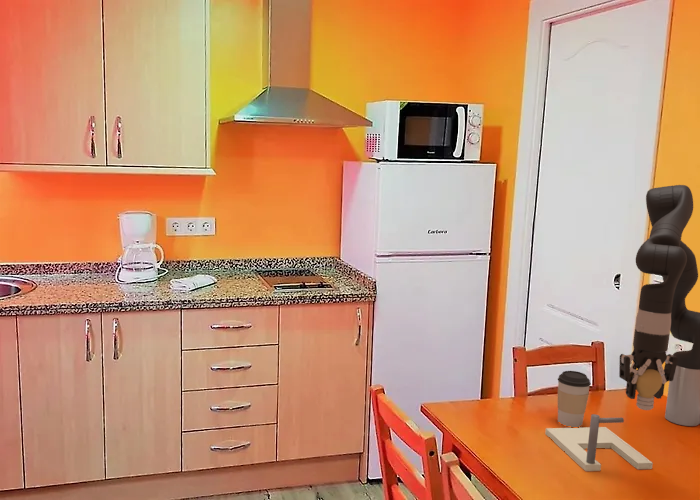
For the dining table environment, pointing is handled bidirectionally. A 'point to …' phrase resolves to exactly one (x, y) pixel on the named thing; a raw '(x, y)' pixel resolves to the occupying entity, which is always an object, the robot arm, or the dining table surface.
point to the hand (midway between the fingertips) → (643, 397)
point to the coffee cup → (572, 397)
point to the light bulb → (648, 388)
